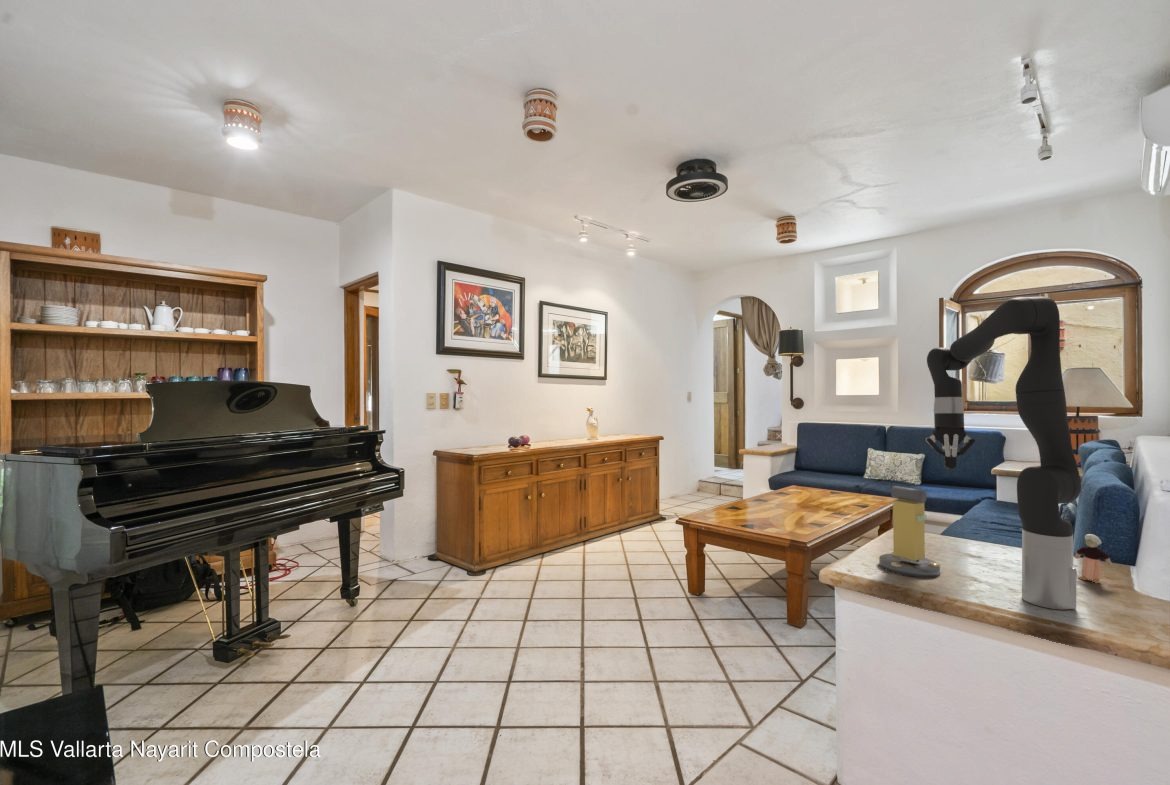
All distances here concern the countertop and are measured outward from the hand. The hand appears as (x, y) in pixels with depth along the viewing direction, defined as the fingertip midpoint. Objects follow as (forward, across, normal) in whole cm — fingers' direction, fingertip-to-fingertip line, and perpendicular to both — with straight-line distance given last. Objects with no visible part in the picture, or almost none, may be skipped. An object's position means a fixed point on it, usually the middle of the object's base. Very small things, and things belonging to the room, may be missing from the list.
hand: (950, 469), depth 161 cm
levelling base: (+28, -13, -13) cm, 34 cm away
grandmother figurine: (+29, +30, -5) cm, 42 cm away
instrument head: (+25, -13, -13) cm, 31 cm away
